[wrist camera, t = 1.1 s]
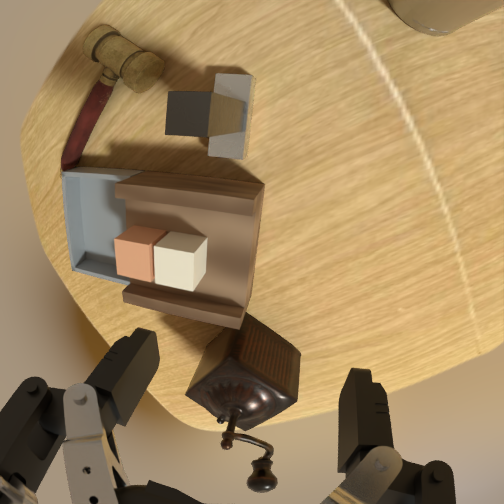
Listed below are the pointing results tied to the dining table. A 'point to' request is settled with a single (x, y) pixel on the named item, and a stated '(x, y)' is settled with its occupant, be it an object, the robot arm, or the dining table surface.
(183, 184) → the slot block
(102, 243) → the tray
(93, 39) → the gavel
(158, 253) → the off-white cube
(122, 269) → the terracotta cube
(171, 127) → the grey upright post
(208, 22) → the dining table surface
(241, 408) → the antique coffee grinder
